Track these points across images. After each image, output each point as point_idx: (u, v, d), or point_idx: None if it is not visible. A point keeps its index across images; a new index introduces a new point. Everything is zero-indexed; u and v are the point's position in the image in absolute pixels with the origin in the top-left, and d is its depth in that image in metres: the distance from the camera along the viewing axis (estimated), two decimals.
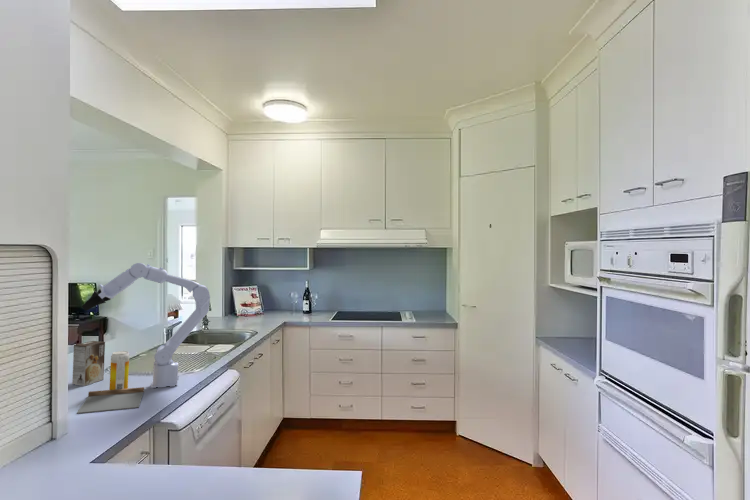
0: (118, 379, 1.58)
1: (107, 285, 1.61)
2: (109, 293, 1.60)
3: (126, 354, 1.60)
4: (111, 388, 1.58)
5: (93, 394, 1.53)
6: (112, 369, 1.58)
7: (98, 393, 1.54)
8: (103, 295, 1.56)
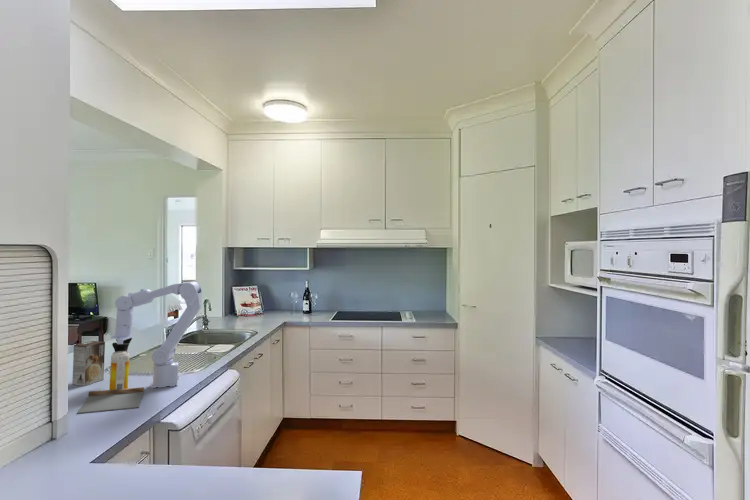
0: (118, 379, 1.58)
1: (116, 332, 1.65)
2: (124, 335, 1.66)
3: (126, 354, 1.60)
4: (111, 388, 1.58)
5: (93, 394, 1.53)
6: (112, 369, 1.58)
7: (98, 393, 1.54)
8: (121, 341, 1.62)
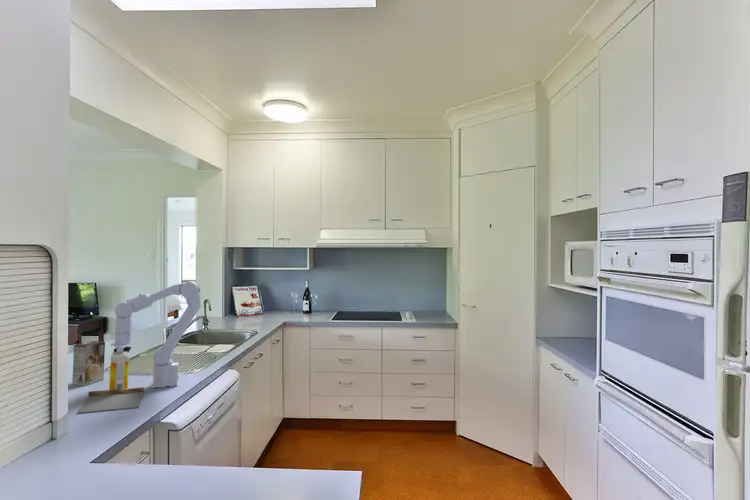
0: (118, 379, 1.58)
1: (116, 340, 1.63)
2: (124, 343, 1.64)
3: (126, 354, 1.60)
4: (111, 388, 1.58)
5: (93, 394, 1.53)
6: (112, 369, 1.58)
7: (98, 393, 1.54)
8: (120, 348, 1.59)
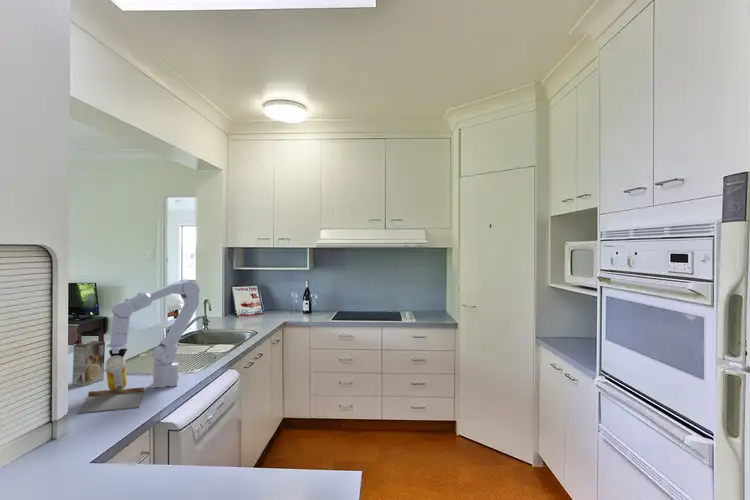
0: (117, 383, 1.56)
1: (112, 341, 1.57)
2: (120, 344, 1.57)
3: (122, 364, 1.53)
4: (110, 388, 1.57)
5: (93, 394, 1.53)
6: (109, 376, 1.53)
7: (98, 393, 1.54)
8: (116, 350, 1.53)
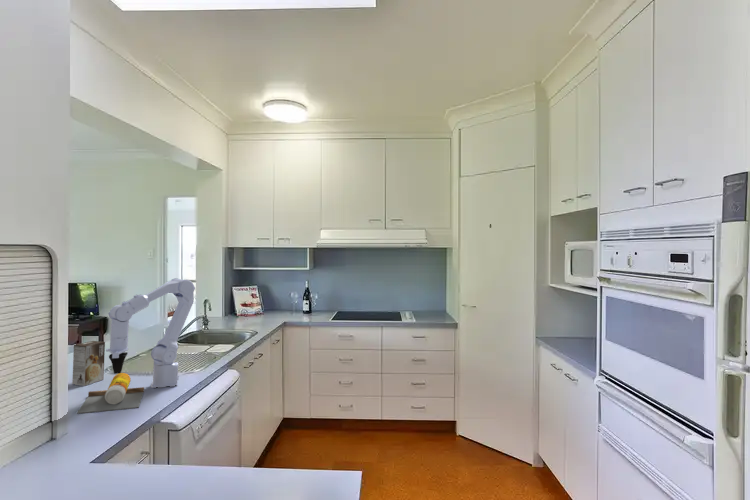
0: None
1: (111, 345, 1.54)
2: (120, 349, 1.54)
3: None
4: None
5: (93, 394, 1.53)
6: None
7: (98, 393, 1.54)
8: (116, 354, 1.50)
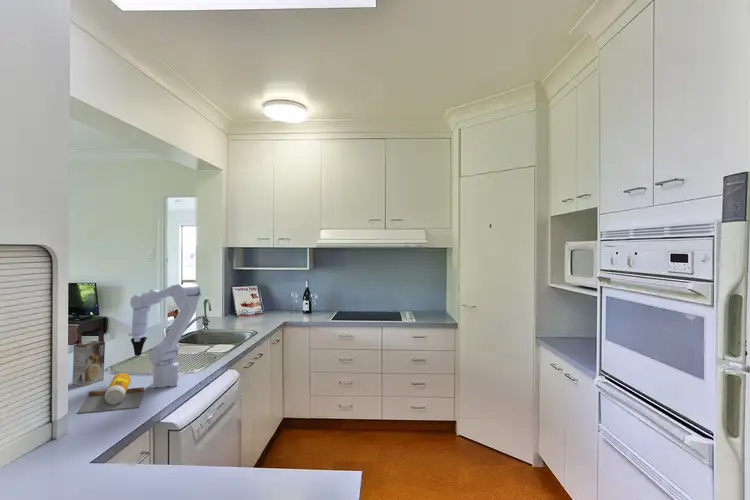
0: None
1: (133, 330, 1.73)
2: (141, 333, 1.74)
3: None
4: None
5: (93, 394, 1.53)
6: None
7: (98, 393, 1.54)
8: (138, 338, 1.69)
